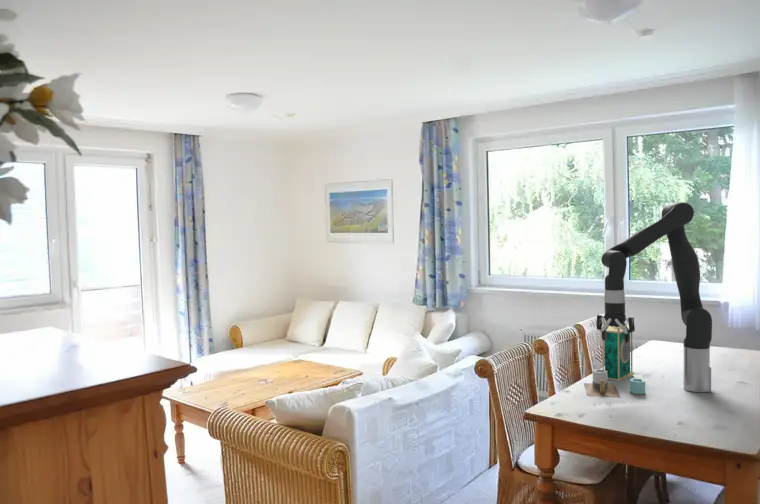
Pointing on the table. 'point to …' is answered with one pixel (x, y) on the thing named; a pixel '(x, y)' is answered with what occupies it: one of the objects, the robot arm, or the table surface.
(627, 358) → the carriage clock
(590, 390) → the brown peg stand
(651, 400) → the table surface
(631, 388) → the teal sleeve
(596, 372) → the grey sleeve
